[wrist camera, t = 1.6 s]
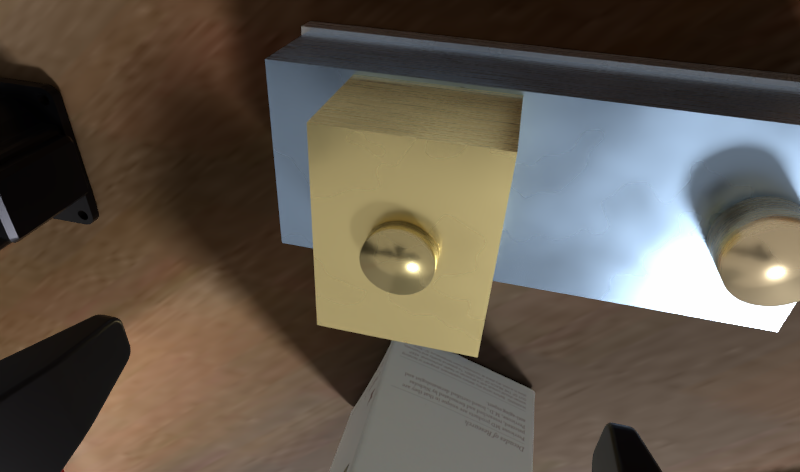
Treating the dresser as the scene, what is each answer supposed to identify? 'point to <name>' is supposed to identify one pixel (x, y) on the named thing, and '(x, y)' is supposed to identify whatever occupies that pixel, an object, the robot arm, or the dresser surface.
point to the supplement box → (437, 417)
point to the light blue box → (595, 166)
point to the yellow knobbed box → (410, 208)
